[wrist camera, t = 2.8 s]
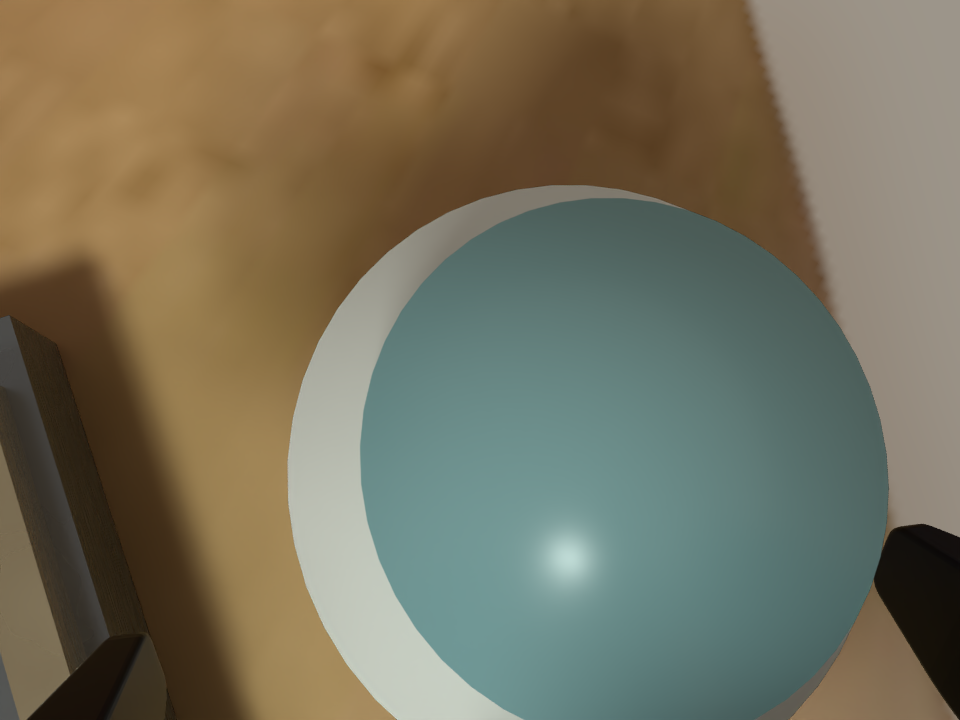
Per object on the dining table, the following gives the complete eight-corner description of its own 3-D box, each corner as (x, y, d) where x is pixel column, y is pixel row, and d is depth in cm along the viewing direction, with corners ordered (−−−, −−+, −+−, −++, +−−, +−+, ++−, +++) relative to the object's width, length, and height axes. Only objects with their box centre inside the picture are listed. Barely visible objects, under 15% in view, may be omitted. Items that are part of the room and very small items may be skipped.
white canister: (583, 569, 19) (1080, 643, 6) (390, 657, 18) (440, 1007, 5) (504, 381, 20) (773, 58, 7) (315, 455, 19) (168, 246, 5)
